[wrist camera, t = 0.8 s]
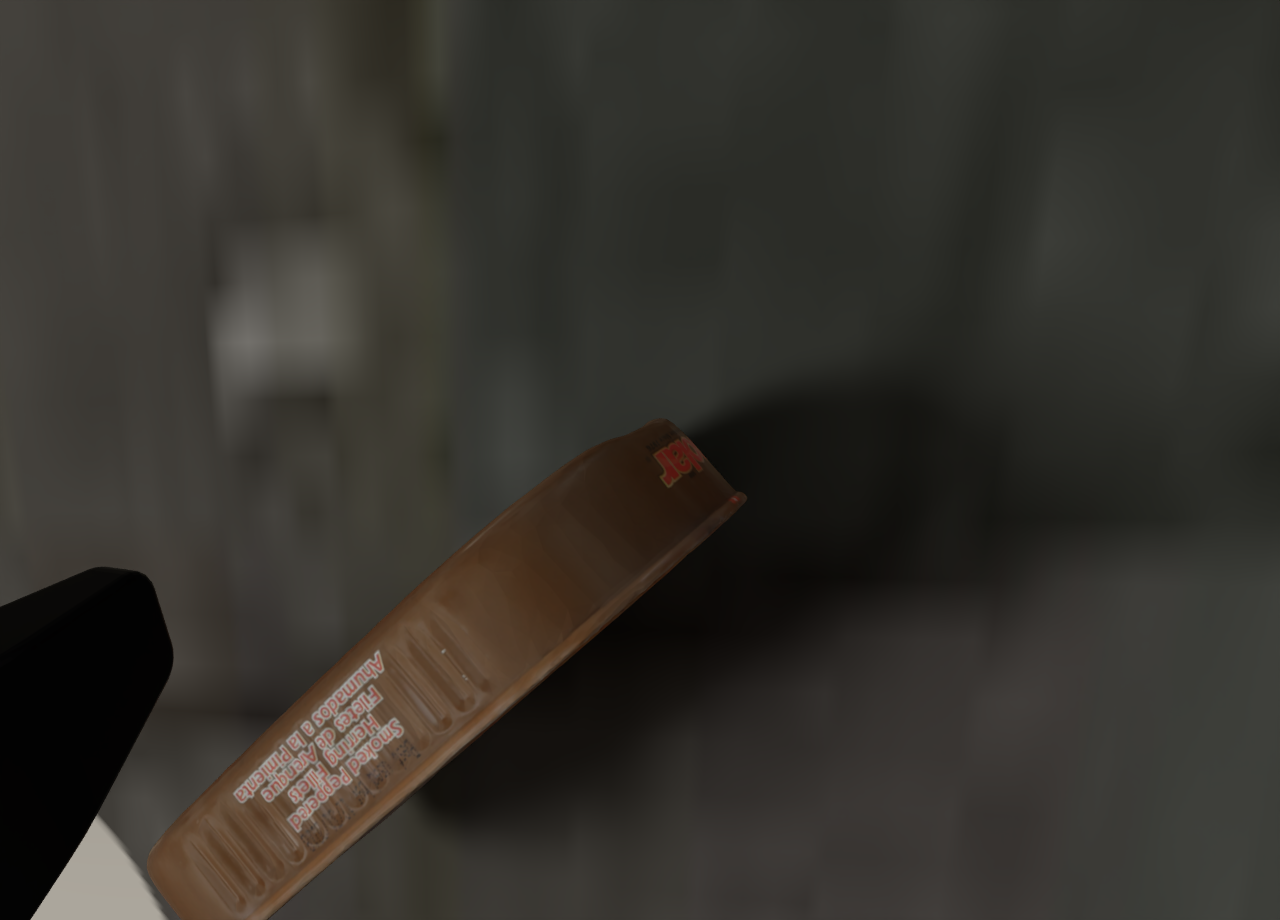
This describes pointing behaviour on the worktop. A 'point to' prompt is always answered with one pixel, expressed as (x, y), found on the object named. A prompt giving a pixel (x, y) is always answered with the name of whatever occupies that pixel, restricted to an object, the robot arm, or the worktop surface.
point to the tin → (441, 671)
